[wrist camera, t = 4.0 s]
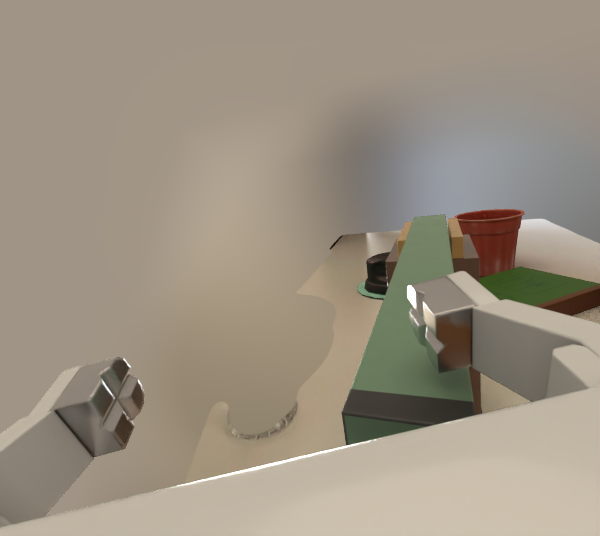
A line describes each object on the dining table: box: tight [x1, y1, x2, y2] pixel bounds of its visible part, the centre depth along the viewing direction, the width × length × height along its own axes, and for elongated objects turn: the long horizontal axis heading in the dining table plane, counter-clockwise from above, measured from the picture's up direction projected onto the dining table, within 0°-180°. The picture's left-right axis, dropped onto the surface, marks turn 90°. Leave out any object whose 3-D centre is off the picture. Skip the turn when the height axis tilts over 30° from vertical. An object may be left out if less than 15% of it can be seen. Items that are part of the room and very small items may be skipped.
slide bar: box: [342, 214, 476, 446], centre depth 21 cm, size 30×3×3 cm, turn 159°
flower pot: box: [454, 209, 524, 277], centre depth 92 cm, size 16×16×16 cm
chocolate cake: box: [358, 252, 390, 298], centre depth 93 cm, size 15×19×20 cm
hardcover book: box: [479, 267, 600, 316], centre depth 72 cm, size 25×19×4 cm
